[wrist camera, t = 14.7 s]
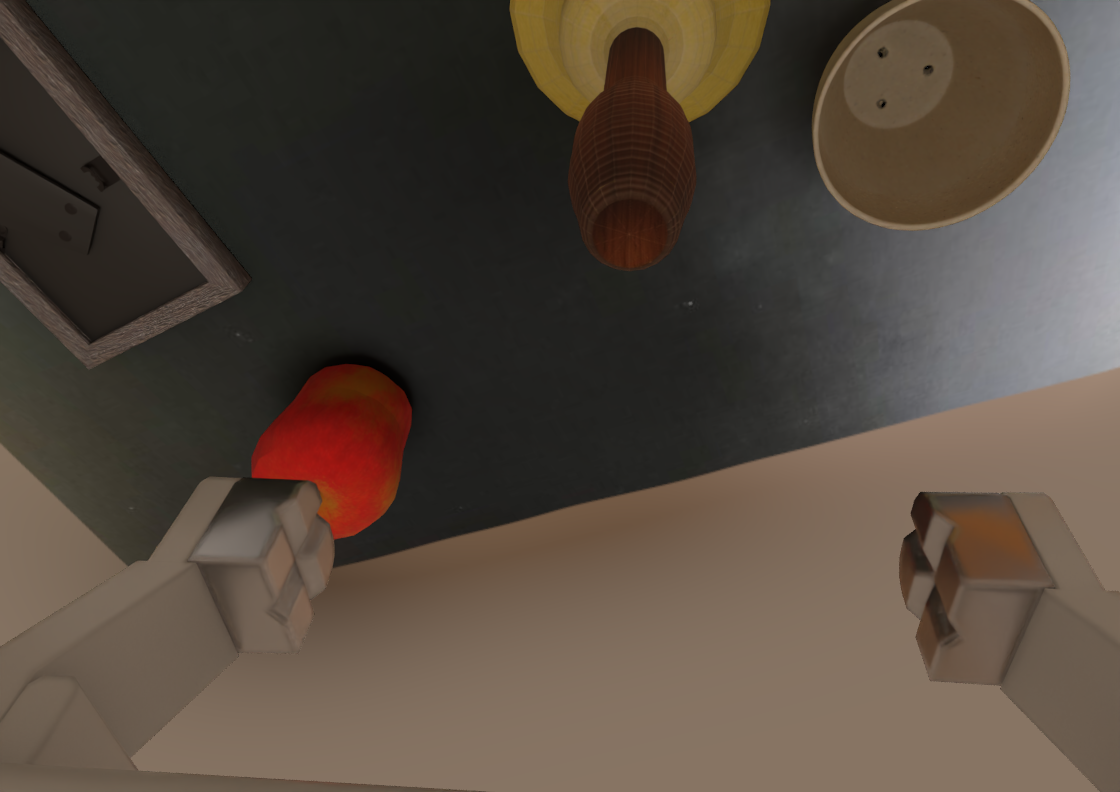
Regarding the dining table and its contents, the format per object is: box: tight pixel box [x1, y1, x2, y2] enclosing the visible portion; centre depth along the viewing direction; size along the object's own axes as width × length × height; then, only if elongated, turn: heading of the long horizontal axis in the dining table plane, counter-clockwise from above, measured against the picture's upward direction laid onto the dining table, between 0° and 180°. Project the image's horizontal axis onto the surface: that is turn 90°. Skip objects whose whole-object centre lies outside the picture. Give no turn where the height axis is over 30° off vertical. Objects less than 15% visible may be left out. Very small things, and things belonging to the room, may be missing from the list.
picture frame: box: [0, 0, 252, 369], centre depth 46 cm, size 13×2×18 cm
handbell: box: [510, 0, 770, 271], centre depth 29 cm, size 12×12×25 cm
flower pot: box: [812, 0, 1070, 231], centre depth 36 cm, size 10×10×7 cm
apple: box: [252, 364, 412, 539], centre depth 49 cm, size 9×8×12 cm
